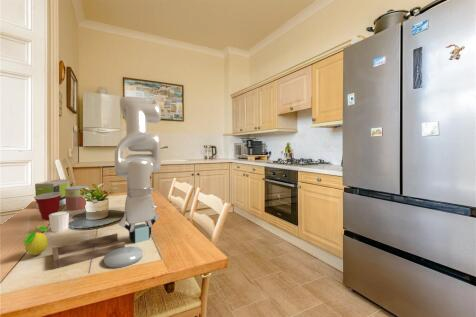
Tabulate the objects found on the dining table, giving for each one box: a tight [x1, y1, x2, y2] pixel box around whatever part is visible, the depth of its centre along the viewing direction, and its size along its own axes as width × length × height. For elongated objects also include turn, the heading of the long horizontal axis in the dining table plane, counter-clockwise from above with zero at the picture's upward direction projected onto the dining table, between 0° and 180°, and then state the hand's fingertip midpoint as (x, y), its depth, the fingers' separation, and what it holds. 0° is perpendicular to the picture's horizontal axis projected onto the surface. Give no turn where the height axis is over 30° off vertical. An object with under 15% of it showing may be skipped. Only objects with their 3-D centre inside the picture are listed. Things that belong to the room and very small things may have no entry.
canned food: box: [65, 185, 90, 212], centre depth 131 cm, size 11×11×12 cm
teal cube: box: [134, 223, 150, 244], centre depth 88 cm, size 5×5×5 cm
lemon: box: [23, 225, 49, 256], centre depth 75 cm, size 7×6×10 cm
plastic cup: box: [33, 192, 62, 221], centre depth 112 cm, size 11×11×12 cm
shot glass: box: [49, 211, 70, 233], centre depth 98 cm, size 7×7×7 cm
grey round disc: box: [103, 246, 143, 269], centre depth 73 cm, size 11×11×2 cm
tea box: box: [34, 178, 71, 210], centre depth 136 cm, size 15×10×15 cm
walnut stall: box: [52, 233, 126, 270], centre depth 77 cm, size 19×11×2 cm, turn 131°
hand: (140, 238), depth 88 cm, fingers closed on teal cube, 5 cm apart
